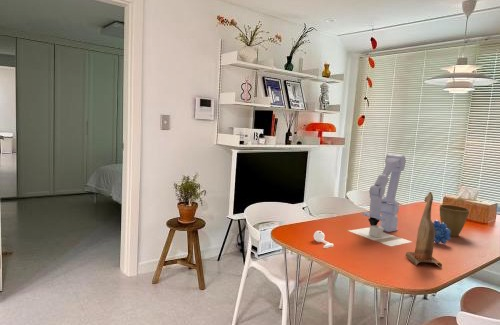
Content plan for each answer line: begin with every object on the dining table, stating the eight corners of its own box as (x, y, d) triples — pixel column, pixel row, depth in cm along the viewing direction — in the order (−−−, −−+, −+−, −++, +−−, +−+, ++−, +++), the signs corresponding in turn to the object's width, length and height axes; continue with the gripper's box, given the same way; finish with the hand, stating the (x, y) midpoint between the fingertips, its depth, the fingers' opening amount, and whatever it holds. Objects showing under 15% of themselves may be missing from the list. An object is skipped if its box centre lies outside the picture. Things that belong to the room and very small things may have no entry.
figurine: (319, 228, 180) (337, 236, 170) (318, 238, 181) (336, 247, 171) (308, 230, 175) (326, 239, 166) (307, 240, 176) (324, 250, 166)
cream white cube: (376, 237, 188) (377, 228, 187) (368, 234, 192) (370, 225, 191) (382, 236, 190) (383, 227, 190) (374, 233, 194) (376, 224, 194)
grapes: (424, 242, 185) (426, 220, 183) (425, 239, 190) (428, 217, 189) (449, 247, 178) (452, 224, 177) (450, 244, 184) (452, 222, 183)
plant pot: (433, 233, 202) (436, 206, 201) (440, 229, 213) (443, 203, 212) (462, 240, 192) (466, 212, 191) (468, 235, 203) (472, 208, 202)
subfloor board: (368, 228, 208) (368, 227, 208) (412, 242, 184) (412, 241, 184) (347, 231, 198) (347, 230, 198) (390, 247, 175) (390, 246, 175)
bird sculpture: (428, 258, 161) (435, 189, 158) (442, 268, 150) (451, 194, 147) (404, 257, 161) (411, 188, 158) (417, 267, 149) (425, 193, 146)
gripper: (359, 204, 197) (357, 228, 198) (381, 210, 185) (379, 236, 186) (368, 204, 201) (366, 227, 202) (390, 209, 188) (387, 234, 190)
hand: (372, 231), depth 194 cm, fingers closed, pressing on cream white cube
